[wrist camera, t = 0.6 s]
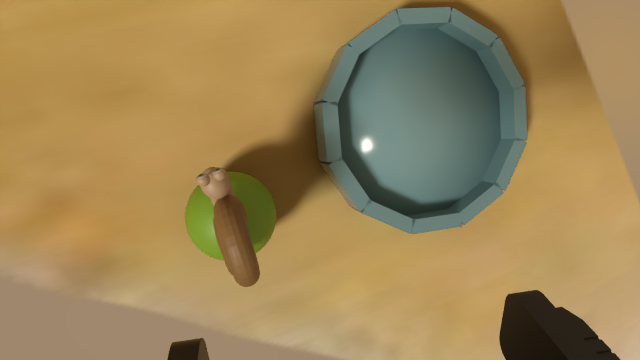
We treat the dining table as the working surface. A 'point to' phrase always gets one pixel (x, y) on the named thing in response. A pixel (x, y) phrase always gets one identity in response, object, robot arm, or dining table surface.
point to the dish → (421, 119)
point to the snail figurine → (231, 220)
